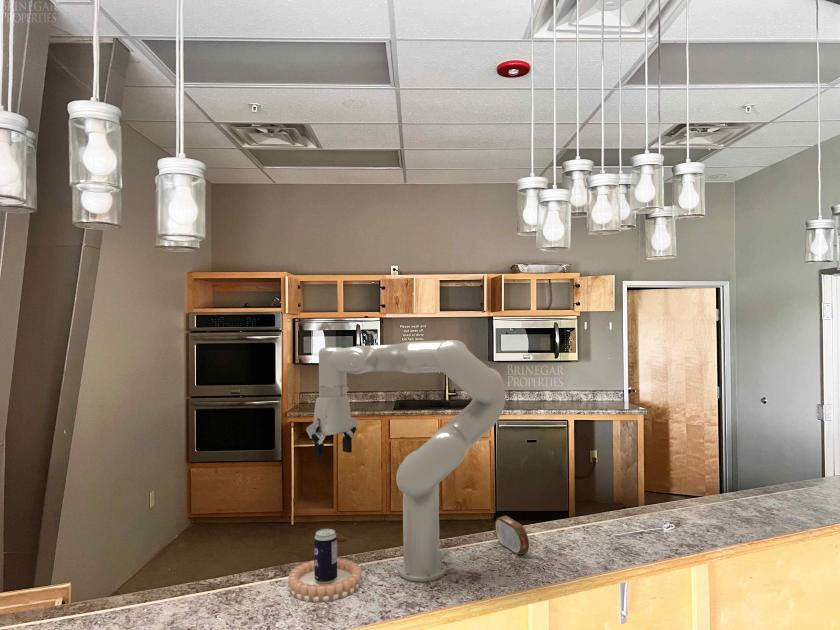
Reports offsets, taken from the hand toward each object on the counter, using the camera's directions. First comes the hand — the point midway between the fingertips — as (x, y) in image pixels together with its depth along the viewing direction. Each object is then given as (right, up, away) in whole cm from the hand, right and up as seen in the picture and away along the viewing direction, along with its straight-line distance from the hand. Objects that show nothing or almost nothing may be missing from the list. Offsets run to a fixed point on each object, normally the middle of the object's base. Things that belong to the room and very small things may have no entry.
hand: (333, 454), depth 148 cm
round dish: (0, -30, -11) cm, 32 cm away
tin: (+50, -30, +9) cm, 59 cm away
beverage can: (0, -29, -11) cm, 31 cm away
